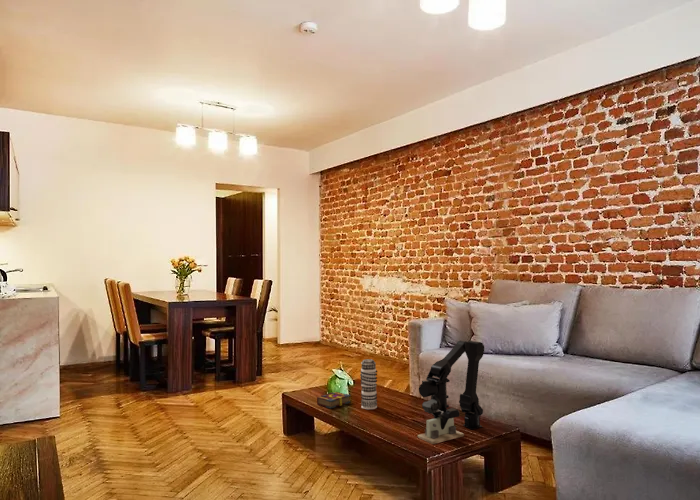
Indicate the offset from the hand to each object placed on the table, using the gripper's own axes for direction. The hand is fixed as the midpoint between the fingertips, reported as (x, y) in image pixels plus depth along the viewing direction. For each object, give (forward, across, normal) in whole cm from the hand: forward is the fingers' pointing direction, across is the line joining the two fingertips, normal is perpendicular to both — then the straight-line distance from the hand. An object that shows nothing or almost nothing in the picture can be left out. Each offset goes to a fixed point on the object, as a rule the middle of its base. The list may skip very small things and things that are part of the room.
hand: (440, 428), depth 223 cm
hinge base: (+4, 0, 0) cm, 4 cm away
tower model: (+4, -55, -2) cm, 55 cm away
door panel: (+2, 0, 0) cm, 2 cm away
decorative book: (+4, -72, -14) cm, 73 cm away
